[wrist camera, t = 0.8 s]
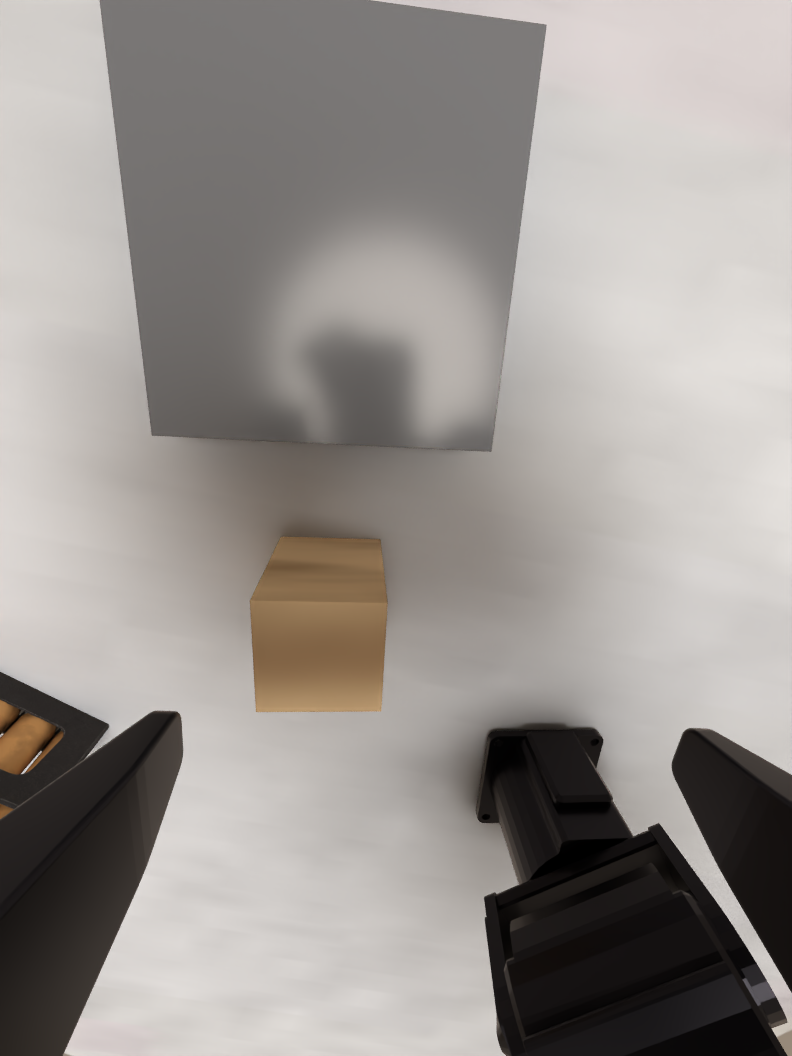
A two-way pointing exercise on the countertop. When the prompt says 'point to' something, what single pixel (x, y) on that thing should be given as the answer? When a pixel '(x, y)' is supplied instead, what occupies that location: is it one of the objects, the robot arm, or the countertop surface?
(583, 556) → the countertop surface
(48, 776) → the ammunition clip
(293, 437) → the slate base
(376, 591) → the wooden block
